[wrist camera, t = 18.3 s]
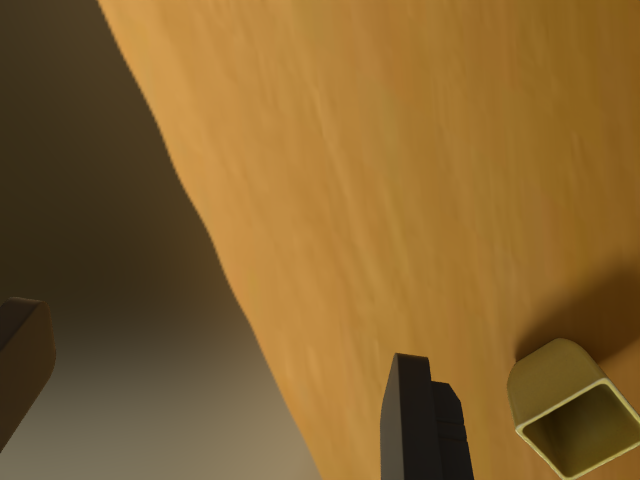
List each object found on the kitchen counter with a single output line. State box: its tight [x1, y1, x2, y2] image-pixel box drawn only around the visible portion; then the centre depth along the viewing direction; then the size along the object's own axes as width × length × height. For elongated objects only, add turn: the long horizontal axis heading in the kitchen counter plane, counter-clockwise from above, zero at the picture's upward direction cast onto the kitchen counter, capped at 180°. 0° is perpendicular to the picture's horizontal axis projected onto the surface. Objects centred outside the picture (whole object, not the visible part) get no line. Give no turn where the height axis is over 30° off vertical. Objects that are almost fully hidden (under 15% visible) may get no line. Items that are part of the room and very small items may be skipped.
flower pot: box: [507, 338, 640, 480], centre depth 54 cm, size 9×9×9 cm
